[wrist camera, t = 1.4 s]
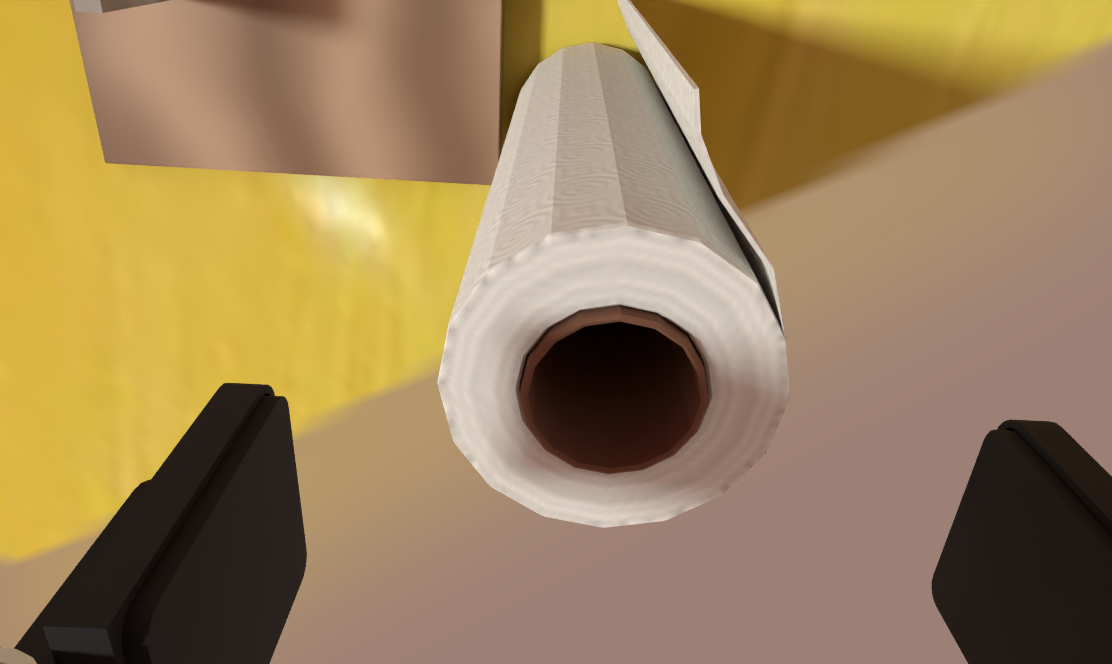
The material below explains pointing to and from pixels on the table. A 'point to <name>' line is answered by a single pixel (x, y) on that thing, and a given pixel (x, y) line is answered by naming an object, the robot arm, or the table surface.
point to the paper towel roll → (613, 302)
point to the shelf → (299, 85)
